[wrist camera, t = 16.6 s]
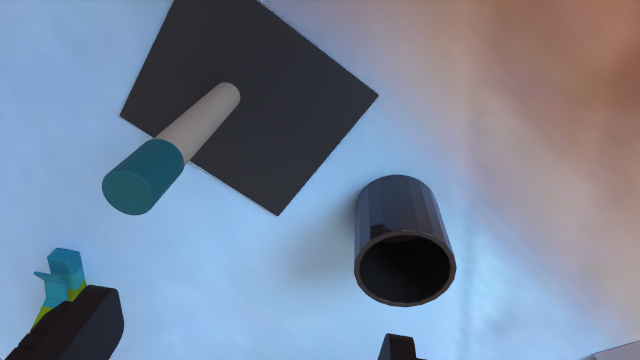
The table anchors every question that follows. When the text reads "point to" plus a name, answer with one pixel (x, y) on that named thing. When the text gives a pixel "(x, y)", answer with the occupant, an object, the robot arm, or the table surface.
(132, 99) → the desk mat
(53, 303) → the chart
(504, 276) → the table surface
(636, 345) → the red-lidded white box
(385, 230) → the pen holder
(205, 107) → the marker
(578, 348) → the table surface
